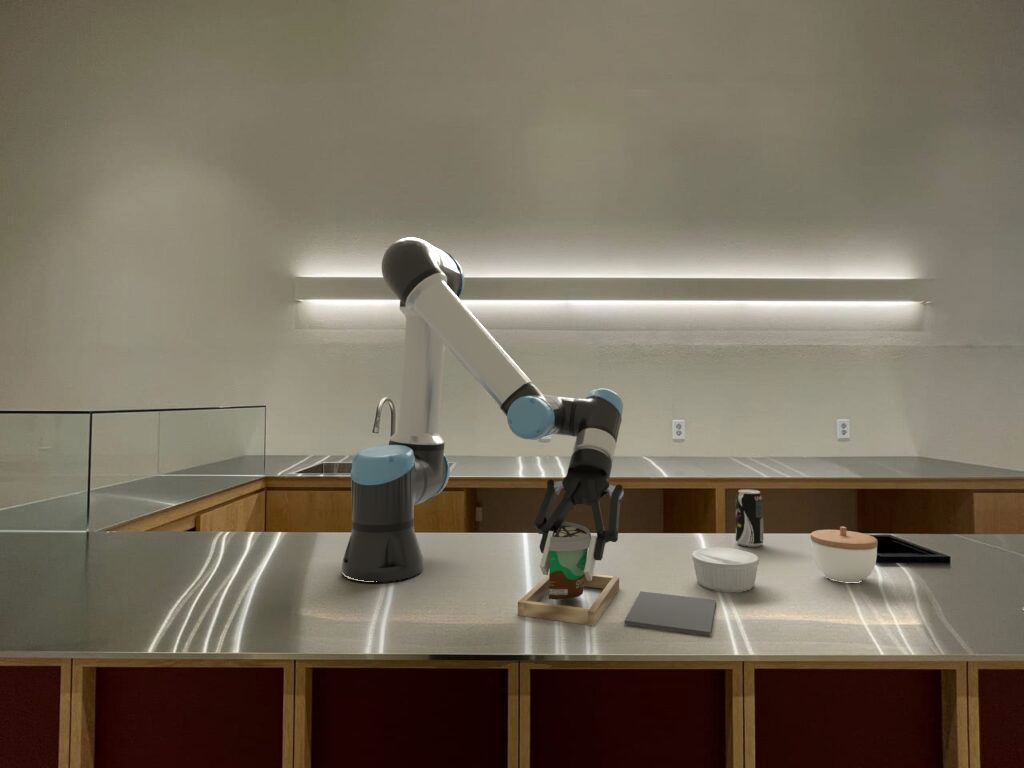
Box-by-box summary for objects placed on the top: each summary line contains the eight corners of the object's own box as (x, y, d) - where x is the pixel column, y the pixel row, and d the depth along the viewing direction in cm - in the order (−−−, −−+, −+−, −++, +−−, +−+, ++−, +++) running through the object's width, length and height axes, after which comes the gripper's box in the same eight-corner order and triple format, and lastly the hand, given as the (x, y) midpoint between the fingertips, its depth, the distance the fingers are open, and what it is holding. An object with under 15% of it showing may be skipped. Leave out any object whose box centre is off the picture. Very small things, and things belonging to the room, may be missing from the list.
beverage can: (733, 541, 139) (732, 488, 139) (759, 542, 138) (759, 488, 138) (739, 547, 133) (738, 492, 133) (766, 548, 132) (766, 493, 132)
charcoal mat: (624, 624, 90) (624, 620, 90) (640, 594, 103) (640, 591, 103) (710, 636, 85) (710, 632, 85) (715, 603, 98) (715, 599, 98)
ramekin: (689, 591, 105) (689, 560, 105) (693, 572, 115) (693, 544, 115) (760, 598, 101) (760, 566, 101) (757, 579, 112) (757, 550, 112)
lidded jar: (874, 574, 114) (873, 523, 114) (881, 591, 104) (881, 536, 104) (810, 567, 118) (809, 519, 118) (811, 583, 109) (811, 530, 109)
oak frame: (517, 615, 94) (517, 601, 94) (553, 580, 110) (553, 569, 110) (594, 625, 89) (594, 612, 89) (619, 588, 106) (619, 576, 106)
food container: (587, 606, 93) (589, 541, 93) (547, 602, 94) (549, 537, 94) (593, 581, 105) (595, 523, 105) (557, 578, 107) (559, 520, 107)
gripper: (647, 475, 111) (630, 593, 95) (545, 468, 118) (513, 577, 103) (643, 449, 106) (623, 568, 91) (537, 443, 113) (502, 553, 98)
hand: (565, 573), depth 97 cm, fingers closed on food container, 6 cm apart
